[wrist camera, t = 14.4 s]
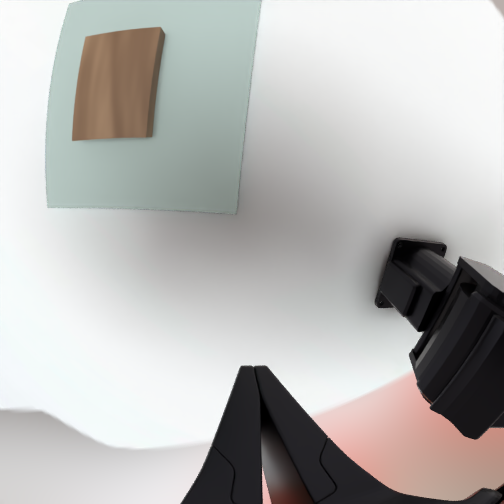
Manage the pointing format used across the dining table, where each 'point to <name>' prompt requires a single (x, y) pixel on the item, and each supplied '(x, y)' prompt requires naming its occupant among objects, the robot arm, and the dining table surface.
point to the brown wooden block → (118, 84)
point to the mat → (159, 110)
